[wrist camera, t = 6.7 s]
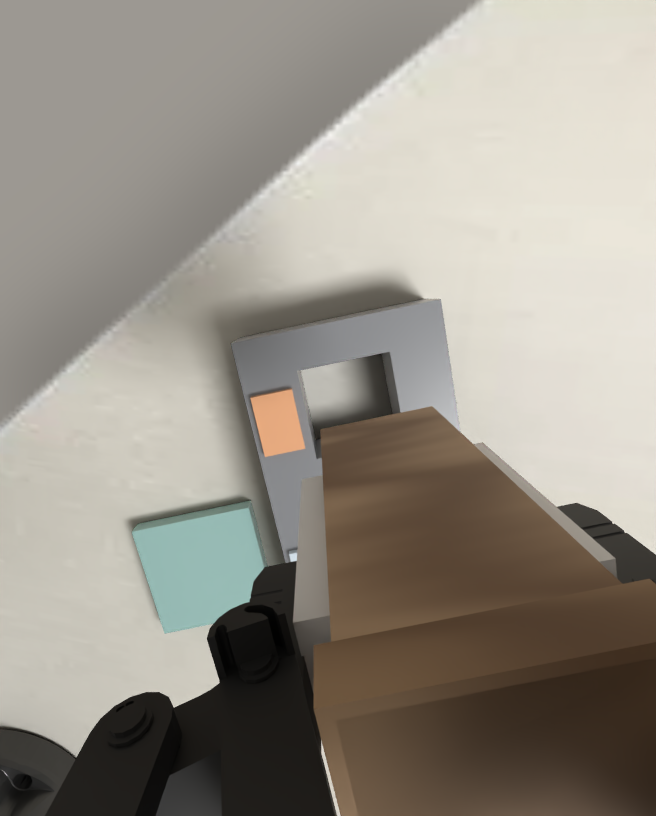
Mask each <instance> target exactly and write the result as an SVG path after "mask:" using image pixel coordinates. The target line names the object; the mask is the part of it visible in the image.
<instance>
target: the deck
mask: <svg viewBox="0 0 656 816" xmlns="http://www.w3.org/2000/svg"><path fill="white" fill-rule="evenodd" d="M132 535H133V538H134V541H135V544H136V547H137V550H138V553H139V556H140V559H141V562H142V565H143V568H144V571H145V575H146V578H147V581H148V584H149V587H150V590H151V593H152V596H153V599H154V602H155V605H156V608H157V611H158V615H159V618H160V621H161V624H162V627H163V630H164V633H170V632H175V631H180V630H185V629H190V628H194V627H199V626H204V625H209V624H214V623H215V621H216V620H217V619H218V618H219V617H220V616H222V615H223V614H224V613H226V612H227V611H229V610H230V609H232V608H234V607H237V606H239V605H241V604H243V603H247V602H249V601H250V598H251V591H252V586H253V582H254V580H255V579H256V578H257V576H258V575H259V574H260V572H261V571H262V570H263V569H264V567H268V565H267V561H266V557H265V554H264V550H263V546H262V542H261V538H260V534H259V531H258V527H257V523H256V519H255V515H254V511H253V507H252V504H251V500H250V501H245V502H241V503H236V504H231V505H226V506H221V507H217V508H212V509H207V510H202V511H197V512H192V513H188V514H183V515H178V516H173V517H168V518H163V519H159V520H154V521H149V522H144V523H139V524H137V526H136V527H135V528H134V530H133V531H132Z"/></svg>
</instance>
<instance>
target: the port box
mask: <svg viewBox="0 0 656 816" xmlns="http://www.w3.org/2000/svg"><path fill="white" fill-rule="evenodd" d="M231 347H232V351H233V355H234V359H235V363H236V367H237V371H238V375H239V379H240V383H241V387H242V391H243V395H244V399H245V403H246V407H247V411H248V415H249V419H250V423H251V427H252V431H253V435H254V439H255V443H256V447H257V451H258V455H259V459H260V463H261V467H262V471H263V475H264V479H265V483H266V487H267V491H268V495H269V499H270V503H271V507H272V511H273V515H274V519H275V523H276V527H277V531H278V535H279V539H280V543H281V547H282V551H283V555H284V559H285V563H288V562H293V561H297V549H298V532H299V516H300V500H301V484H302V479H306V478H311V477H316V476H321V475H323V473H322V454H321V439H318V440H316V439H315V434H314V430H313V425H312V420H311V416H310V411H309V407H308V402H307V398H306V393H305V389H304V384H303V380H302V375H301V371H300V370H304V369H309V368H314V367H319V366H324V365H328V364H333V363H338V362H343V361H347V360H352V359H357V358H362V357H366V356H371V355H376V354H381V353H382V359H383V364H384V370H385V376H386V381H387V387H388V392H389V398H390V403H391V409H392V414H396V413H401V412H406V411H411V410H416V409H421V408H426V407H430V406H433V407H434V408H435V409H436V410H437V411H438V412H439V413H440V414H441V415H442V416H443V417H445V418H446V419H447V420H448V421H449V422H450V423H451V424H452V425H453V426H454V427H455V428H456V429H457V430H458V431H460V425H459V418H458V412H457V405H456V398H455V392H454V385H453V378H452V371H451V365H450V358H449V351H448V344H447V338H446V331H445V324H444V318H443V311H442V304H441V299H421V300H417V301H412V302H407V303H402V304H398V305H393V306H388V307H383V308H379V309H374V310H369V311H364V312H360V313H355V314H350V315H345V316H341V317H336V318H331V319H326V320H322V321H317V322H312V323H307V324H303V325H298V326H293V327H288V328H284V329H279V330H274V331H269V332H265V333H260V334H255V335H250V336H246V337H241V338H239V339H237V340H235V341H234V342H232V343H231Z"/></svg>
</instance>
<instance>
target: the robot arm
mask: <svg viewBox="0 0 656 816" xmlns="http://www.w3.org/2000/svg"><path fill="white" fill-rule="evenodd" d="M473 445H475V446H476V447H477V448H478V449H479V450H480V451H481V452H482V453H483V454H484V455H485V456H486V457H487V458H488V459H490V460H491V461H492V462H493V463H494V464H495V465H496V466H497V467H498V468H499V469H500V470H501V471H502V472H503V473H505V474H506V475H507V476H508V477H509V478H510V479H511V480H512V481H513V482H514V483H515V484H516V485H517V486H518V487H520V488H521V489H522V490H523V491H524V492H525V493H526V494H527V495H528V496H529V497H530V498H531V499H532V500H533V501H535V502H536V503H537V504H538V505H539V506H540V507H541V508H542V509H543V510H544V511H545V512H546V513H547V514H548V515H550V516H551V517H552V518H553V519H554V520H555V521H556V522H557V523H558V524H559V525H560V526H561V527H562V528H563V529H565V530H566V531H567V532H568V533H569V534H570V535H571V536H572V537H573V538H574V539H575V540H576V541H577V542H578V543H580V544H581V545H582V546H583V547H584V548H585V549H586V550H587V551H588V552H589V553H590V554H591V555H592V556H593V557H595V558H596V559H597V560H598V561H599V562H600V563H601V564H602V565H603V566H604V567H605V568H606V569H607V570H608V571H610V572H611V573H612V574H613V575H614V576H615V577H616V578H617V579H618V580H619V581H620V582H621V583H622V584H625V583H630V582H635V581H640V580H645V579H651V580H652V581H653V582H654V583H655V584H656V555H655V554H654V553H653V552H651V551H650V550H649V549H647V548H646V547H645V546H643V545H642V544H641V543H639V542H638V541H637V540H636V539H634V538H633V537H632V536H630V535H629V534H628V533H624V530H622V529H621V528H620V527H618V526H617V525H616V524H612V521H610V520H609V519H608V518H607V517H605V516H604V515H603V514H601V513H600V512H599V511H597V510H594V509H592V508H589V507H586V506H584V505H581V504H578V503H574V504H569V505H564V506H559V507H556V506H555V505H554V504H553V503H551V502H550V501H549V500H548V499H547V498H546V497H545V496H543V495H542V494H541V493H540V492H539V491H538V490H536V489H535V488H534V487H533V486H532V485H531V484H530V483H528V482H527V481H526V480H525V479H524V478H523V477H522V476H520V475H519V474H518V473H517V472H516V471H515V470H514V469H512V468H511V467H510V466H509V465H508V464H507V463H506V462H504V461H503V460H502V459H501V458H500V457H499V456H498V455H496V454H495V453H494V452H493V451H492V450H491V449H489V448H488V447H487V446H486V445H485V444H484V443H483V442H482V443H477V444H473ZM207 641H208V644H209V647H210V651H211V654H212V657H213V660H214V664H215V667H216V670H217V674H218V677H219V680H220V683H219V684H218V685H216V686H215V687H214V688H213V689H211V690H210V691H208V692H206V693H204V694H202V695H201V696H199V697H196V698H194V699H192V700H190V701H188V702H186V703H183V704H181V705H179V706H177V707H175V708H173V705H172V703H171V701H170V699H169V697H168V696H166V695H164V694H162V693H160V692H146V693H142V694H139V695H136V696H133V697H130V698H128V699H126V700H125V701H123V702H121V703H120V704H118V705H116V706H114V707H113V708H112V709H111V710H110V711H109V712H108V713H106V714H105V715H104V716H103V717H102V718H101V719H100V720H99V722H98V723H97V724H96V726H95V727H94V728H93V730H92V731H91V732H90V734H89V736H88V738H87V740H86V741H85V743H84V745H83V747H82V749H81V751H80V752H79V754H78V756H77V758H76V759H75V758H73V757H72V756H71V755H70V754H69V753H67V752H66V751H64V750H63V749H61V748H60V747H58V746H56V745H55V744H53V743H51V742H49V741H47V740H44V739H42V738H39V737H37V736H34V735H31V734H27V733H23V732H19V731H13V730H6V729H0V816H337V815H336V810H335V806H334V802H333V798H332V794H331V790H330V786H329V782H328V778H327V774H326V770H325V766H324V762H323V759H322V755H321V736H320V732H319V728H318V724H317V720H316V717H315V713H314V645H317V644H322V643H327V642H331V631H330V611H329V592H328V572H327V552H326V532H325V513H324V493H323V475H321V476H316V477H311V478H306V479H302V484H301V500H300V516H299V532H298V549H297V561H293V562H288V563H283V564H279V565H274V566H269V567H264V569H263V570H262V571H261V572H260V574H259V575H258V576H257V578H256V579H255V580H254V582H253V586H252V591H251V598H250V601H249V602H247V603H243V604H241V605H239V606H237V607H234V608H232V609H230V610H229V611H227V612H226V613H224V614H223V615H222V616H220V617H219V618H218V619H217V620H216V621H215V623H214V624H213V625H212V626H211V628H210V630H209V633H208V637H207Z"/></svg>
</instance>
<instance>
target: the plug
mask: <svg viewBox="0 0 656 816" xmlns="http://www.w3.org/2000/svg"><path fill="white" fill-rule="evenodd" d="M320 434H321V454H322V473H323V493H324V513H325V532H326V552H327V572H328V592H329V611H330V631H331V642H327V643H322V644H317V645H314V713H315V717H316V720H317V724H318V728H319V732H320V736H321V740H322V744H323V748H324V752H325V756H326V760H327V763H328V767H329V771H330V775H331V779H332V783H333V787H334V791H335V795H336V799H337V803H338V806H339V810H340V814H341V816H656V584H655V583H654V582H653V581H652V580H651V579H645V580H640V581H635V582H630V583H625V584H622V583H621V582H620V581H619V580H618V579H617V578H616V577H615V576H614V575H613V574H612V573H611V572H610V571H608V570H607V569H606V568H605V567H604V566H603V565H602V564H601V563H600V562H599V561H598V560H597V559H596V558H595V557H593V556H592V555H591V554H590V553H589V552H588V551H587V550H586V549H585V548H584V547H583V546H582V545H581V544H580V543H578V542H577V541H576V540H575V539H574V538H573V537H572V536H571V535H570V534H569V533H568V532H567V531H566V530H565V529H563V528H562V527H561V526H560V525H559V524H558V523H557V522H556V521H555V520H554V519H553V518H552V517H551V516H550V515H548V514H547V513H546V512H545V511H544V510H543V509H542V508H541V507H540V506H539V505H538V504H537V503H536V502H535V501H533V500H532V499H531V498H530V497H529V496H528V495H527V494H526V493H525V492H524V491H523V490H522V489H521V488H520V487H518V486H517V485H516V484H515V483H514V482H513V481H512V480H511V479H510V478H509V477H508V476H507V475H506V474H505V473H503V472H502V471H501V470H500V469H499V468H498V467H497V466H496V465H495V464H494V463H493V462H492V461H491V460H490V459H488V458H487V457H486V456H485V455H484V454H483V453H482V452H481V451H480V450H479V449H478V448H477V447H476V446H475V445H473V444H472V443H471V442H470V441H469V440H468V439H467V438H466V437H465V436H464V435H463V434H462V433H461V432H460V431H458V430H457V429H456V428H455V427H454V426H453V425H452V424H451V423H450V422H449V421H448V420H447V419H446V418H445V417H443V416H442V415H441V414H440V413H439V412H438V411H437V410H436V409H435V408H434V407H433V406H430V407H426V408H421V409H416V410H411V411H406V412H401V413H396V414H392V415H387V416H382V417H377V418H372V419H367V420H362V421H358V422H353V423H348V424H343V425H338V426H333V427H328V428H324V429H320Z"/></svg>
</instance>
